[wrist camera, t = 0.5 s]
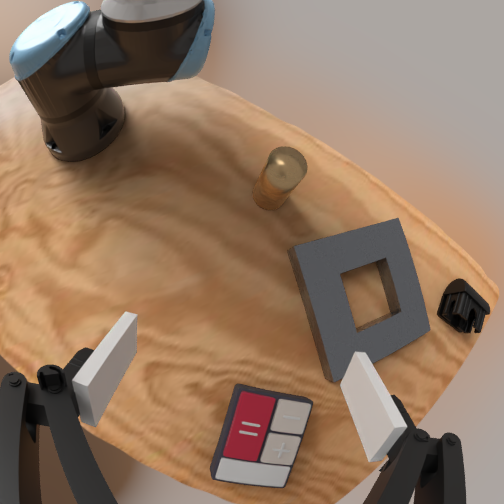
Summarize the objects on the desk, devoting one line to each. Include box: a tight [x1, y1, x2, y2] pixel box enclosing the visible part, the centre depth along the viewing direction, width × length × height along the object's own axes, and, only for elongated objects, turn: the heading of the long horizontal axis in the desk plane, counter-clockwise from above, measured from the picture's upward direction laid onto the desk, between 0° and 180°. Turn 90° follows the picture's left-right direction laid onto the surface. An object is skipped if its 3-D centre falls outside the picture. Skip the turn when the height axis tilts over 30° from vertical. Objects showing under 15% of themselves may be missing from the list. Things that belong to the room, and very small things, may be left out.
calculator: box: [210, 384, 313, 488], centre depth 35 cm, size 11×4×15 cm
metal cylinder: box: [253, 147, 307, 210], centre depth 40 cm, size 5×5×10 cm
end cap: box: [437, 279, 490, 333], centre depth 44 cm, size 10×7×7 cm
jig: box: [287, 218, 430, 382], centre depth 43 cm, size 20×20×3 cm
